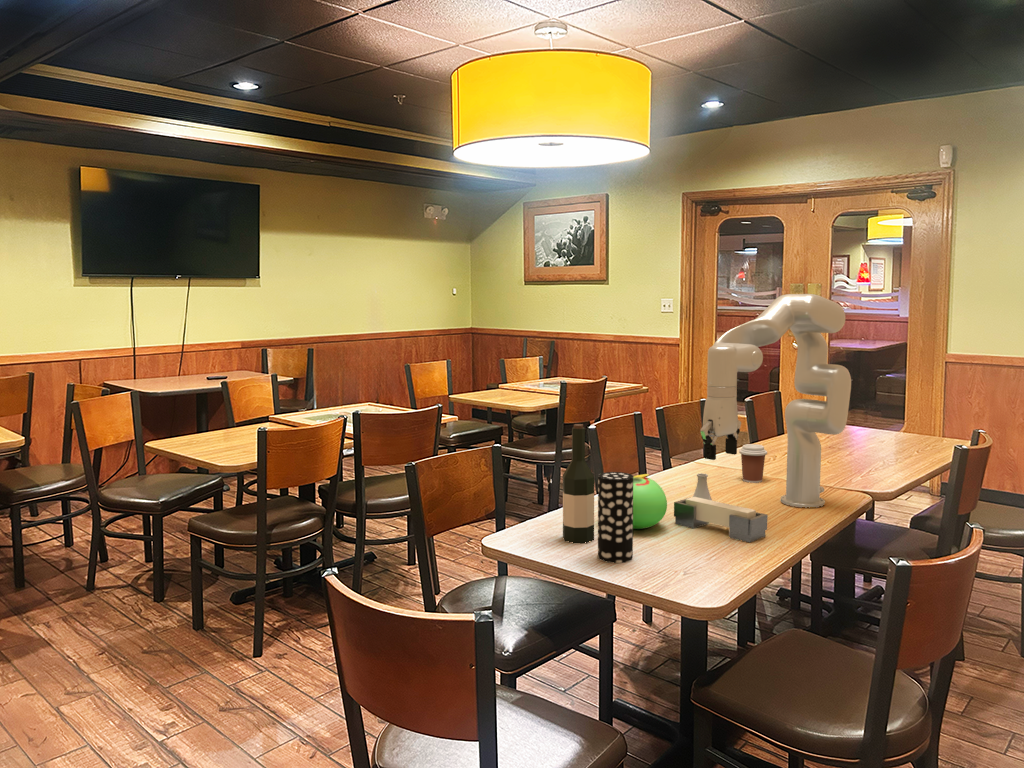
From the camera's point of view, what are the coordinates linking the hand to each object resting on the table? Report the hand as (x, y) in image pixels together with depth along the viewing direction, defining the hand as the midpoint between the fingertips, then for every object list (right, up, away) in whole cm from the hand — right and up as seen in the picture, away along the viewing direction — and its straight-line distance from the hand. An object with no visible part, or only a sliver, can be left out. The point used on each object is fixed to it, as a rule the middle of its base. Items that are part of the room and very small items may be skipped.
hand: (720, 456), depth 205 cm
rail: (0, -18, +2) cm, 18 cm away
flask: (+1, -18, +25) cm, 31 cm away
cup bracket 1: (-6, -19, +8) cm, 22 cm away
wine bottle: (-38, -21, -4) cm, 44 cm away
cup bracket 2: (+6, -21, -4) cm, 22 cm away
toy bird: (-22, -20, +6) cm, 30 cm away
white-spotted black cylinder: (-31, -23, -19) cm, 43 cm away
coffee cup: (+26, -14, +58) cm, 65 cm away
